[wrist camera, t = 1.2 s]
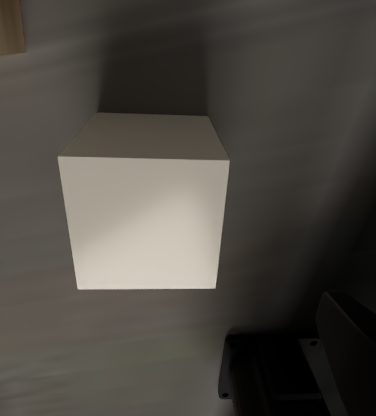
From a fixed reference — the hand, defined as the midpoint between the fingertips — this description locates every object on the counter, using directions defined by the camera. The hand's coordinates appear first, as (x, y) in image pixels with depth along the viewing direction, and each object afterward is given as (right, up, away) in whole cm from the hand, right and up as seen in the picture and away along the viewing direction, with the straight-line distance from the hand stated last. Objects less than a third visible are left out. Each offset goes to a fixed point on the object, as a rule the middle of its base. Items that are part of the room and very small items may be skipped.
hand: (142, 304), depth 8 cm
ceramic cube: (-1, +4, +8) cm, 9 cm away
